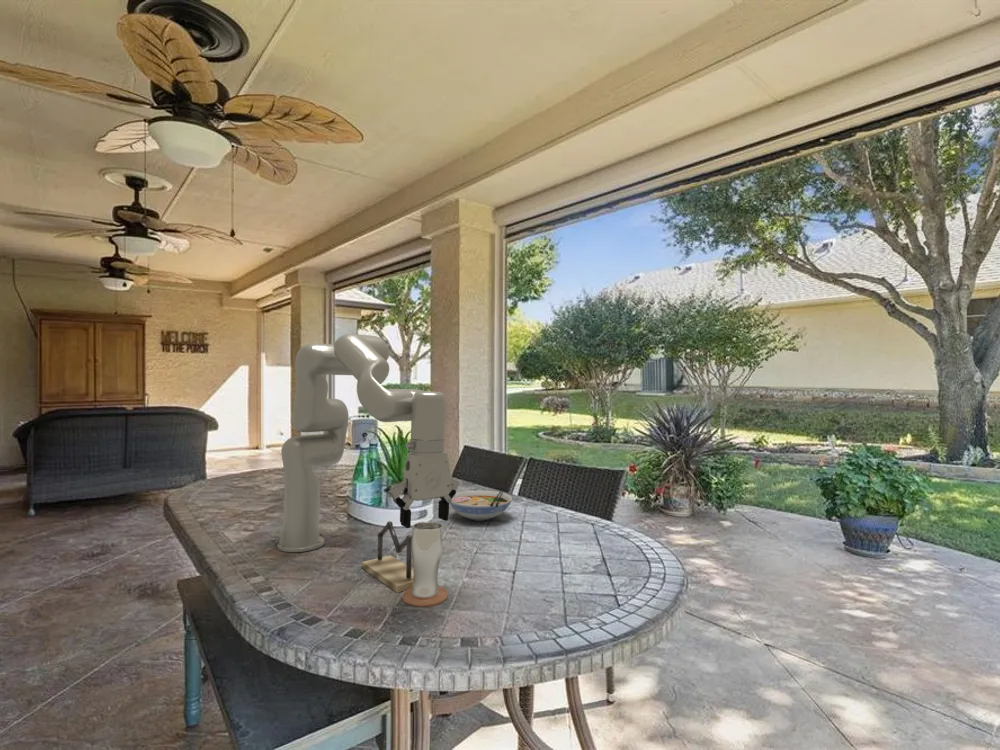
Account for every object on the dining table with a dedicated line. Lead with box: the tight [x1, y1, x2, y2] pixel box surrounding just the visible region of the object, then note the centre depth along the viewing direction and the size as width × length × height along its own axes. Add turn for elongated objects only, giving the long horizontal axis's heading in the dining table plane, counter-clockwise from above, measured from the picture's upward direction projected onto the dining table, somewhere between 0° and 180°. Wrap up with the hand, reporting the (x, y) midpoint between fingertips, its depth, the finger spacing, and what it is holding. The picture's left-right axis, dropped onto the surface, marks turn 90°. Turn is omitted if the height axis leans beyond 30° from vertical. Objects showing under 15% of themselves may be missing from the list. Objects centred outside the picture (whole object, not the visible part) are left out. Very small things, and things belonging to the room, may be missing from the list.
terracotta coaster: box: [401, 585, 449, 608], centre depth 111 cm, size 10×10×1 cm
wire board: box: [361, 555, 414, 593], centre depth 123 cm, size 19×8×2 cm, turn 40°
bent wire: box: [376, 521, 413, 578], centre depth 123 cm, size 16×2×11 cm, turn 40°
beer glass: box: [411, 521, 443, 599], centre depth 111 cm, size 7×7×15 cm
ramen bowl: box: [449, 489, 513, 522], centre depth 175 cm, size 25×23×8 cm
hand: (424, 522), depth 112 cm, fingers open, 9 cm apart
